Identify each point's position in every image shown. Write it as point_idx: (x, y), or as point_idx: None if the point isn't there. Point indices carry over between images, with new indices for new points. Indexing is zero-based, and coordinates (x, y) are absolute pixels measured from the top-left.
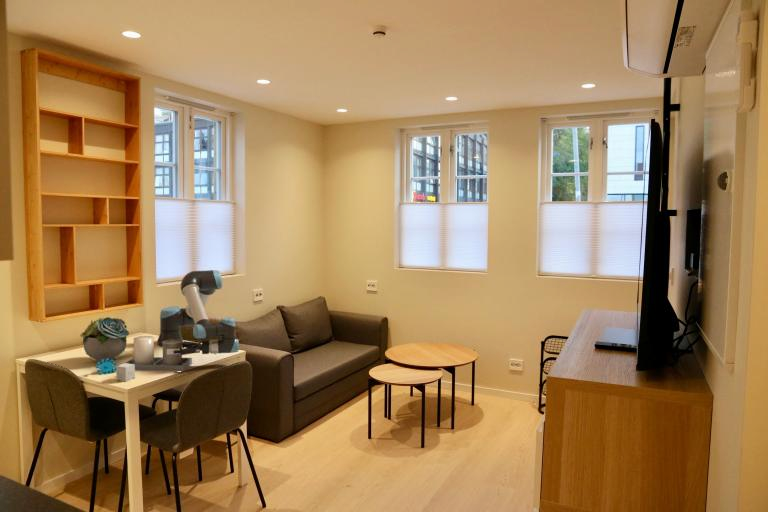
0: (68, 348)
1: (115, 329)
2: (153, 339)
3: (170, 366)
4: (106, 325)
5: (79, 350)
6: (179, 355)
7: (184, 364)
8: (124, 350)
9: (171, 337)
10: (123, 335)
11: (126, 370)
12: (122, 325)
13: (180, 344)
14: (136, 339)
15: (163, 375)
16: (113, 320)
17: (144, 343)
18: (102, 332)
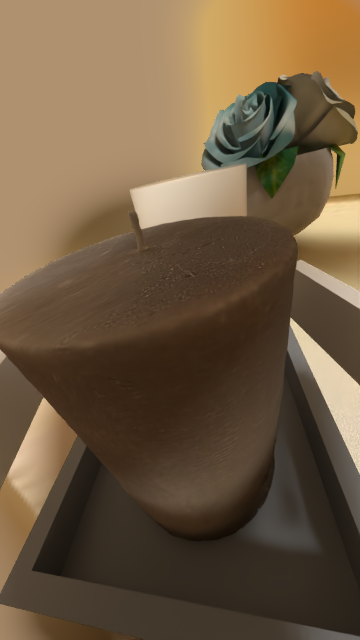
0: (328, 199)
1: (268, 135)
2: (184, 192)
3: (75, 451)
4: (230, 117)
5: (324, 207)
6: (121, 482)
7: (72, 620)
8: (290, 229)
9: None
10: (238, 161)
11: None
12: (286, 109)
13: (64, 399)
14: (155, 182)
15: (43, 444)
16: (276, 88)
17: (137, 213)
18: (205, 149)
